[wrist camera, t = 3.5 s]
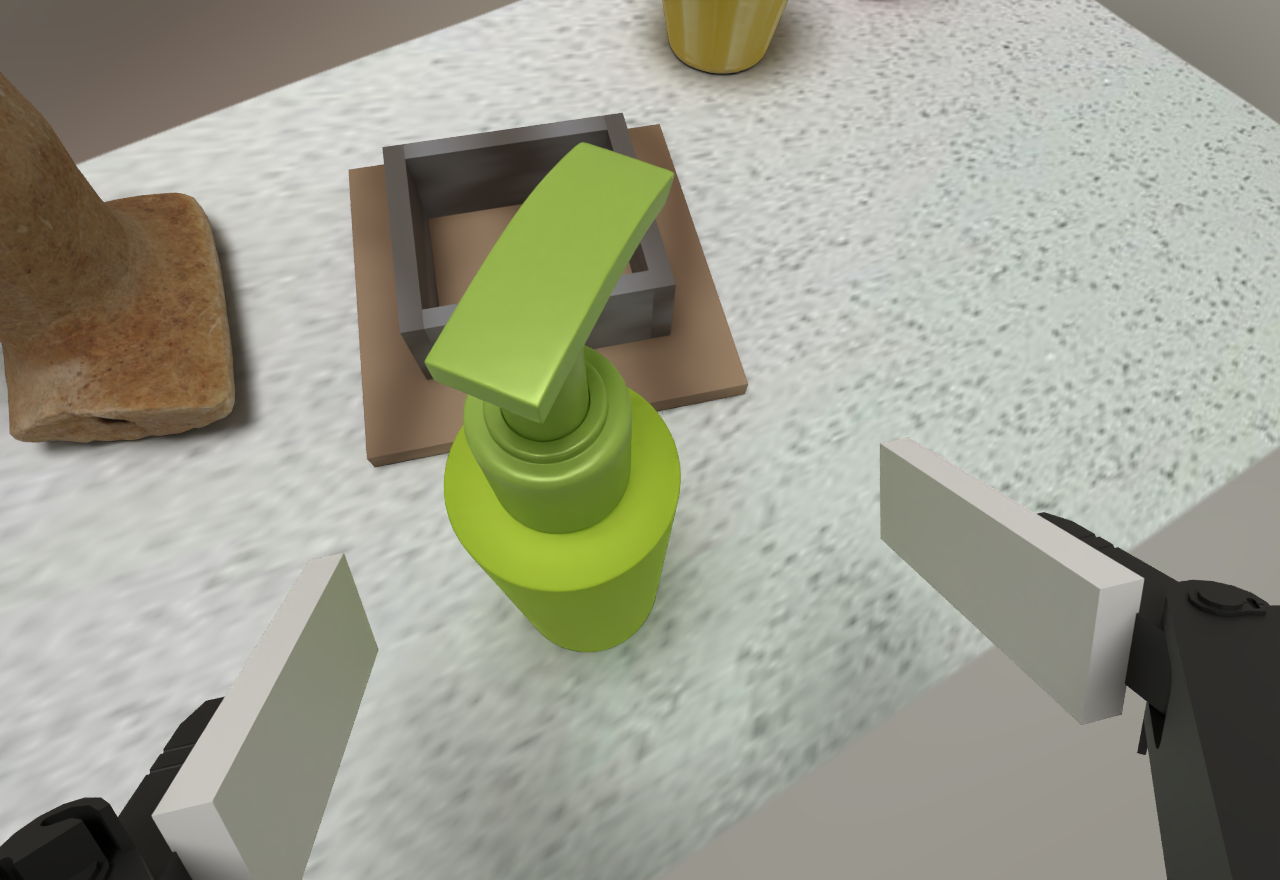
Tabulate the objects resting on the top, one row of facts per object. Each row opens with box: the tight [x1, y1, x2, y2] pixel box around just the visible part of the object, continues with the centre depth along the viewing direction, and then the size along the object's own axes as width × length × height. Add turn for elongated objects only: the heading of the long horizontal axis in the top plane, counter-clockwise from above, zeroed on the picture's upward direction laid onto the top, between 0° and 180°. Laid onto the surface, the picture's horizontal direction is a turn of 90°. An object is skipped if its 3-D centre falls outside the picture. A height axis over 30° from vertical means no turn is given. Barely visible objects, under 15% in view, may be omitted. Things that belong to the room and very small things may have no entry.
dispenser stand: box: [349, 113, 748, 467], centre depth 32 cm, size 18×18×5 cm
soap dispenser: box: [425, 142, 681, 652], centre depth 19 cm, size 6×7×20 cm
